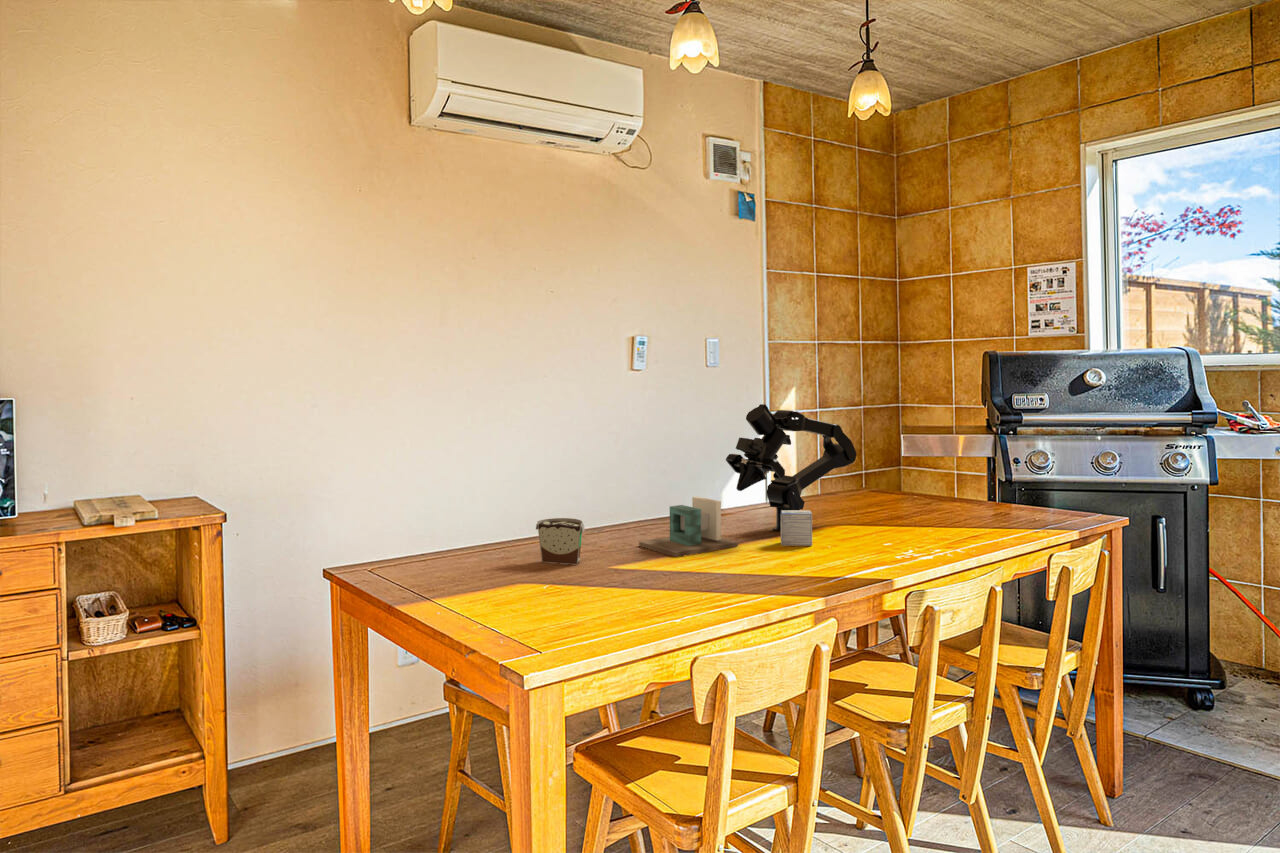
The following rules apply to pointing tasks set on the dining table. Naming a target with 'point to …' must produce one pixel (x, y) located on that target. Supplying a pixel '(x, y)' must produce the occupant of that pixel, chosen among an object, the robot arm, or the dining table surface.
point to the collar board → (686, 549)
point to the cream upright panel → (707, 517)
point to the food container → (560, 540)
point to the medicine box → (796, 528)
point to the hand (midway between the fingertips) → (738, 489)
